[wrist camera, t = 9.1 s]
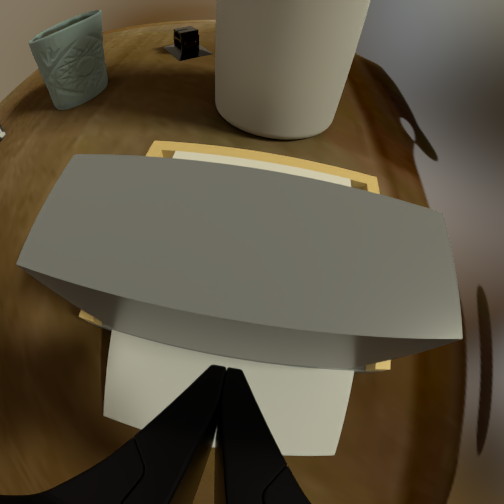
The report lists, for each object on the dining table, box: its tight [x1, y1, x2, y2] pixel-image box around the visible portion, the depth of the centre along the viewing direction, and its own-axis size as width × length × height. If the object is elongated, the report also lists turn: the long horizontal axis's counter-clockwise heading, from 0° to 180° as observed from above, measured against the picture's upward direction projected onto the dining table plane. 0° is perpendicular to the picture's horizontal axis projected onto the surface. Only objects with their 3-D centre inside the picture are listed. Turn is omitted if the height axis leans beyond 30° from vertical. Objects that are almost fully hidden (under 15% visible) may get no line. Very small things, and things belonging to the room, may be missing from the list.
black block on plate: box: [163, 26, 213, 61], centre depth 32 cm, size 12×7×5 cm, turn 30°
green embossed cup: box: [29, 10, 108, 110], centre depth 22 cm, size 10×10×12 cm
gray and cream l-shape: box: [16, 151, 462, 369], centre depth 12 cm, size 12×12×10 cm
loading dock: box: [79, 141, 391, 456], centre depth 16 cm, size 20×18×3 cm
